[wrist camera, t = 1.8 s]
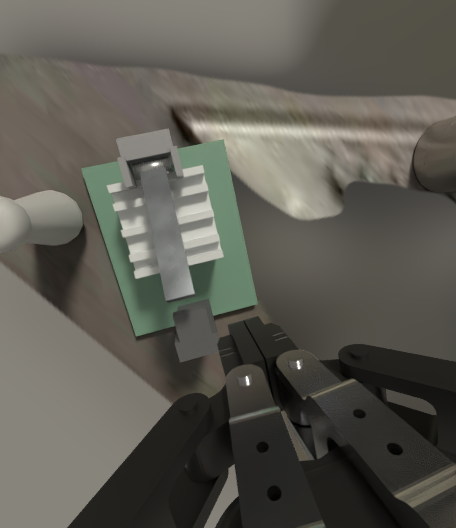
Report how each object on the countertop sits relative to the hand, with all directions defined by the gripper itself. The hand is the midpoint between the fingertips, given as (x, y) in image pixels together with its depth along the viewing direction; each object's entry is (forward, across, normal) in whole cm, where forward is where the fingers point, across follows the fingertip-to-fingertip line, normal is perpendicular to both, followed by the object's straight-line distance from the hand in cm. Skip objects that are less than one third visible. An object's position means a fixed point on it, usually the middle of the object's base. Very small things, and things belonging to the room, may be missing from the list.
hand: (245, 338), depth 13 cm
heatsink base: (+23, +3, -3) cm, 23 cm away
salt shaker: (+24, +15, -8) cm, 29 cm away
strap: (+12, +3, -5) cm, 14 cm away
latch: (+22, +3, +5) cm, 22 cm away
